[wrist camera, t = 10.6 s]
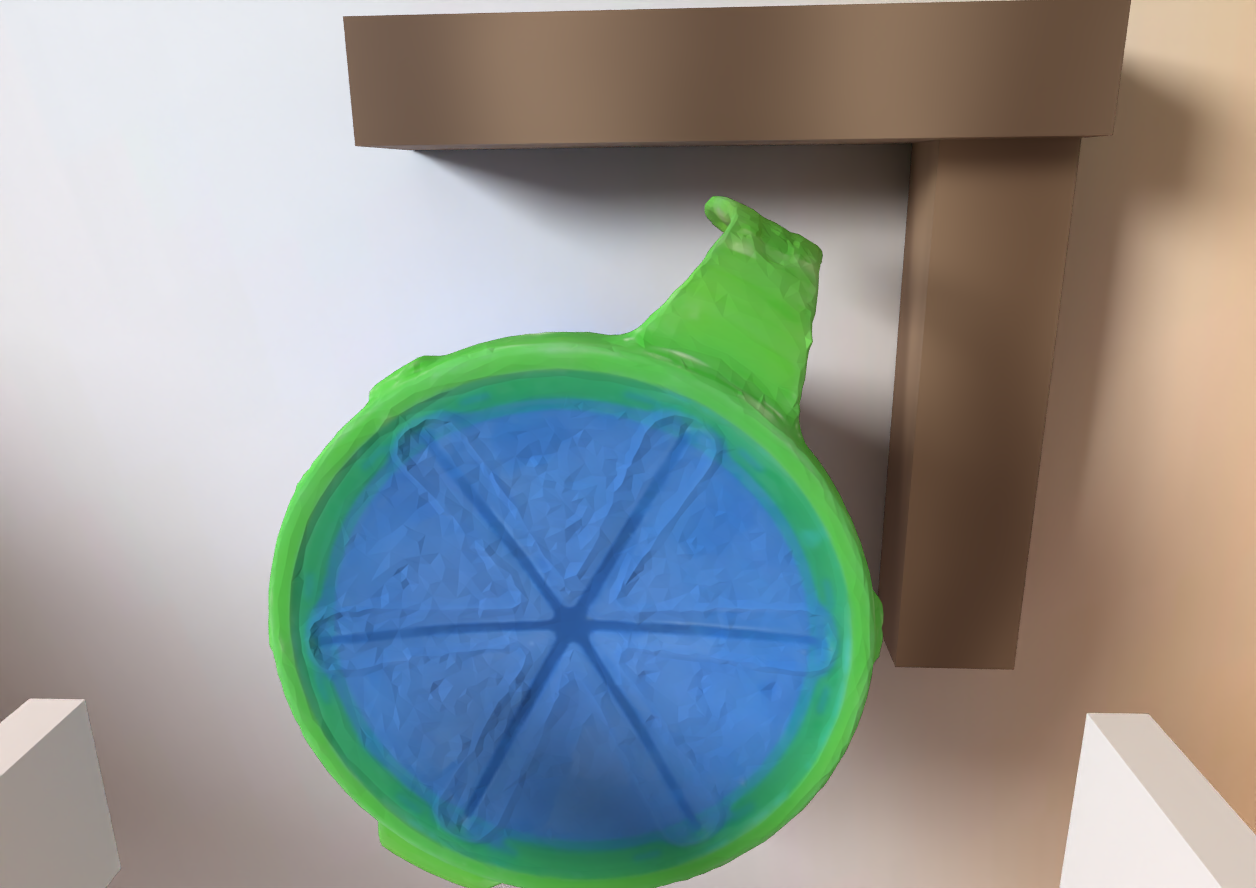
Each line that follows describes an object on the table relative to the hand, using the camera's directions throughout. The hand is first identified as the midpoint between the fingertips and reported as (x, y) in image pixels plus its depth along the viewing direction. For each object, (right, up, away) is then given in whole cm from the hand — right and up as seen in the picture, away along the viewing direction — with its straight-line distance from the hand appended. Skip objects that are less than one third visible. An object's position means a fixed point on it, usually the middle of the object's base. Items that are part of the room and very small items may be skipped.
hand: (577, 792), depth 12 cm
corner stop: (+3, +7, +12) cm, 14 cm away
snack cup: (0, +4, +13) cm, 14 cm away
